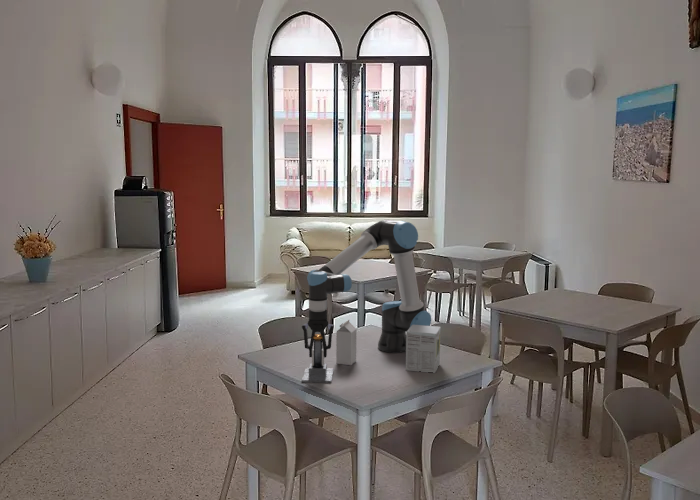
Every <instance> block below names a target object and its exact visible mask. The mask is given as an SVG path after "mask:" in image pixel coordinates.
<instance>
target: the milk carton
mask: <svg viewBox="0 0 700 500" xmlns="http://www.w3.org/2000/svg"><path fill="white" fill-rule="evenodd" d="M335 339H336V341H335V343H336V344H335V345H336V349H335V351H336V353H335V354H336V358H335V359H336V364H337V365H344V366H345V365H346V366H352V365H353V364H355V363H356V362H357V328H356V327H355V326H354V325H353V324H352V323H351V321H350V319H347V320H346V321H344V322H343V323H341V324H339V329H338V330H336V338H335Z"/></svg>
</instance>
